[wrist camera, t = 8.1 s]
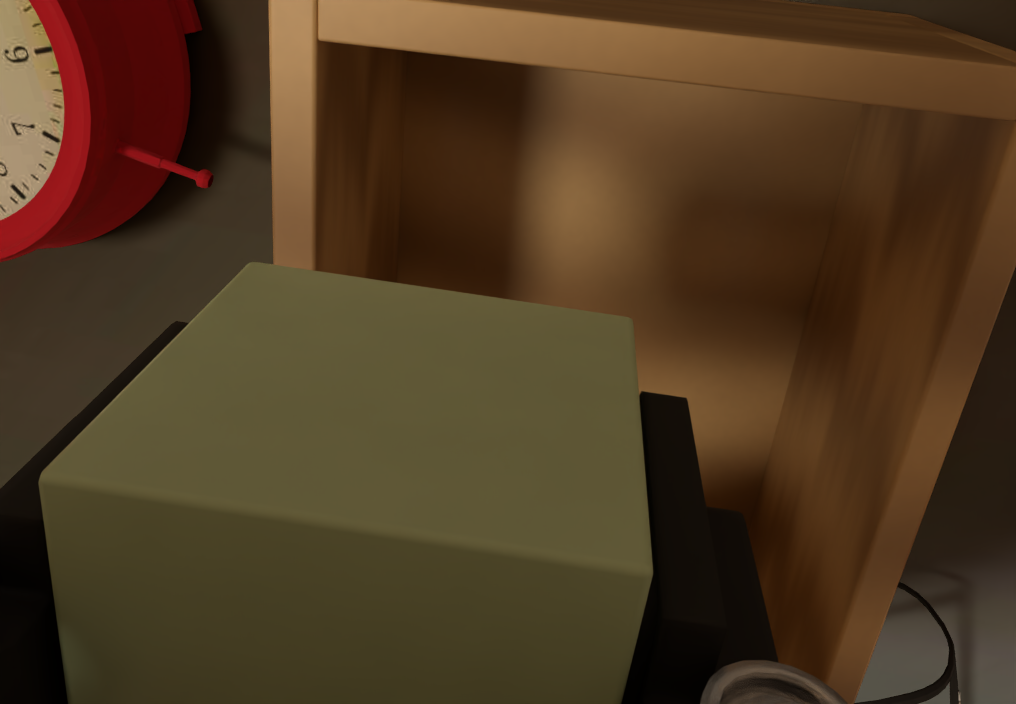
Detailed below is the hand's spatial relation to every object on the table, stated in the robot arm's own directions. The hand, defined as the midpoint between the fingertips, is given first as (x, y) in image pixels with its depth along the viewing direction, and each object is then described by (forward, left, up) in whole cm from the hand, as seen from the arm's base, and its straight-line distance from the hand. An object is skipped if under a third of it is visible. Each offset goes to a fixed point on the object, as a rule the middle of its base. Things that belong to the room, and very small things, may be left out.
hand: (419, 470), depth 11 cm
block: (0, 0, -1) cm, 1 cm away
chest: (+3, +3, -14) cm, 15 cm away
